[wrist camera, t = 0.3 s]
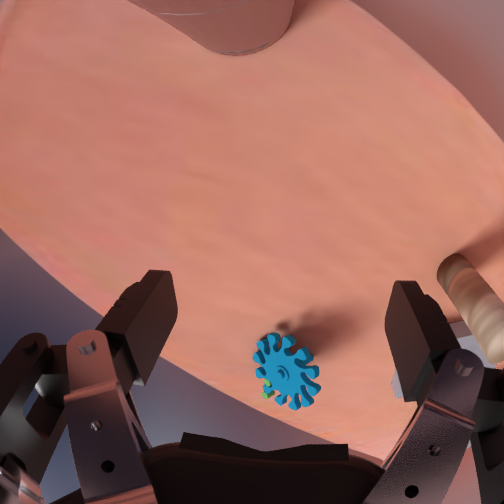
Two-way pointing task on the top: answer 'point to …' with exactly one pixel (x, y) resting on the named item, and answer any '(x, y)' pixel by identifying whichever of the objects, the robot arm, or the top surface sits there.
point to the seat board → (465, 342)
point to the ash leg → (475, 304)
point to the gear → (286, 371)
